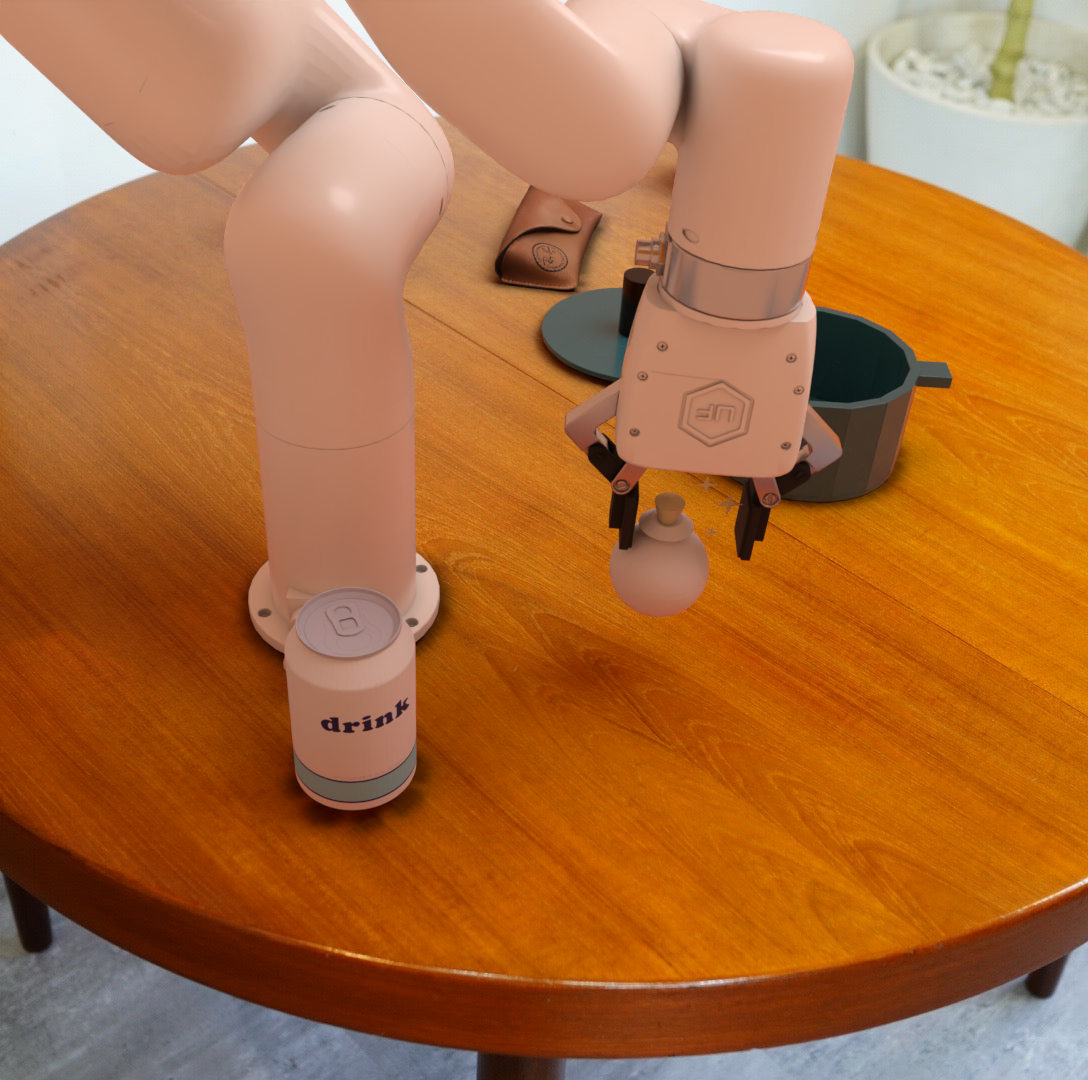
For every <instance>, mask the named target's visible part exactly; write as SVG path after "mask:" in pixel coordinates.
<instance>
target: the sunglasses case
mask: <svg viewBox="0 0 1088 1080" xmlns="http://www.w3.org/2000/svg"><path fill="white" fill-rule="evenodd" d="M603 215H604V214H603V213H602V212H601V211H600V212H599V211H598V210H596V209H594V208H592V207H590V206H588V205H586V204H583V202H581V201H571V200H567V199H563V198H560V197H556V196H553V195H550V194H548V193H546V192H544V191H542V190H540V189H538V188H536V187H534V186H532V185H530V184H529V187H528V188H527V191H526V192H525V194H524V196H523V198H522V199H521V201H520V202H519V205H518V206H517V209H516V211H515V213H514V216H513V218H512V220H511V222H510V224H509V226H508V228H507V230H506V233H505V235H504V237H503V239H502V240H501V243H500V244H501V245H500V247H499V249H498V253H497V256H496V258H495V261H494V273H495V274H496V276H497V277H498V279H499V280H500V282H502V283H504V284H507V285H515V286H518V287H524V288H531V289H538V290H539V289H540V290H555V291H568V290H570V291H571V290H575V289H577V288H578V287H579V286H578V285H579V282H580V273H581V268H582V263H583V259H584V256H585V253H586V250H587V247H588V245H589V243H590V240H591V237H592V236H593V233H594V231H595V229H596V227H598V224H599V223H600V221H601V219H602V218H603Z"/></svg>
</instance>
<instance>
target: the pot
mask: <svg viewBox="0 0 1088 1080" xmlns="http://www.w3.org/2000/svg"><path fill="white" fill-rule="evenodd" d="M814 306H815V308H816V343H815V355H814V364H813V373H812V379H811V387H810V394H809V400H808V404H809V405H810V406H811V407H812V408H813V409H814V410H815V411H816V413H817V414H818V415H819V416H820V417H821V418H822V419H823V420H824V421H825V423H826V424H827V425H828V426H829V427H830V428H831V429H832V430H833V431H834V432H835V434H836V435H837V436H838V437H839V439H840V443H841V447H842V455H841V457H840V458H839V459H837V460H836V461H834V462H832V463H831V464H829V465H828V466H826V467H825V468H823V469H821V470H820V471H818V472H814V473H813V474H811V477H810V479H809V480H808V481H806V482H805V483H803V484H802V485H800V486H798V487H797V488H795V489H793V490H792V491H790V492H788V493H787V494H785V495H783V496H782V497H781V499H787V500H792V501H798V502H808V503H811V502H813V503H828V502H829V503H830V502H840V501H847V500H851V499H855V498H859V497H862V496H864V495H867V494H869V493H871V492H873V491H875V490H876V489H878V488H880V487H881V486H882V485H884V484H885V482H886V481H887V480H888V479H889V478H890V476H891V475H892V473H893V471H894V468H895V465H896V462H897V460H898V458H899V454H900V450H901V447H902V443H903V440H904V436H905V431H906V427H907V424H908V422H909V421H908V420H909V416H910V413H911V410H912V406H913V401H914V398H915V394H916V391H917V388H933V389H946V390H947V389H951V386H952V383H953V379H954V378H953V375H952V372H951V371H950V368H949V365H948V363H947V362H945V361H929V360H918V359H917V357H916V354H915V351H914V349H913V348H912V347H911V346H910V345H908V344H907V343H906V342H905V341H904V340H903V339H902V338H900V336H898V335H897V334H896V333H895V332H894V331H893V330H891V329H888V328H886V327H885V326H882V325H880V324H878V323H877V322H874V321H872V320H870V319H868V318H866V317H863V316H861V315H858V314H854V313H850V312H846V311H842V310H837V309H833V308H829V307H825V306H819V305H818V306H817V305H814ZM807 444H808V443H807V442H806V441H805V439H804V438H803V437H802V440H801V445H800V449H799V450H801V449H803V448H802V447H804V446H805V445H807ZM784 445H785V444H784ZM784 447H785V446H784ZM729 477H730V478H731V479H732V480H735V481H736V482H738V483H740V484H742V485H744V482H745V481H748V477H736V476H729Z"/></svg>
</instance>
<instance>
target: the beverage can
mask: <svg viewBox="0 0 1088 1080" xmlns="http://www.w3.org/2000/svg"><path fill="white" fill-rule="evenodd" d="M284 653H285V654H284ZM284 653H283V654H284V658H285V664H286V670H285V674H286V685H287V695H288V706H289V707H288V708H289V717H290V728H291V738H292V740H291V741H292V747H293V751H292V752H293V760H294V772H295V776H296V780H297V782H298V785H299V786H300V788H301V789H302V790H303V792H304V793H305V794H306V795H308V797H310V798H311V799H313V801H315V802H317V803H319V804H322V805H323V806H326V807H328V808H332V809H336V810H342V811H363V810H368V809H373V808H377V807H379V806H382V805H384V804H386V803H389V802H390V801H392V800H394V799H395V798H396V797H398V796H400V795H401V794H402V793H403V792H404V791H405V790H406V789H407V788H408V786H409V785H410V783H411V782H412V780H413V778H414V776H415V773H416V770H417V679H416V677H417V674H416V673H417V672H416V669H417V668H416V667H417V666H416V665H417V664H416V662H417V661H416V660H417V659H416V642H415V639H414V635H413V633H412V630H411V628H410V627H409V625H408V624H407V623H406V622H405V620H404V619H403V618H402V616H401V612H400V610H399V608H398V606H397V605H396V604H395V603H394V602H393V601H392V600H391V599H390V598H389V597H387V596H386V595H384V594H382V593H380V592H377V591H374V590H371V589H367V588H360V587H343V588H336V589H332V590H328V591H325V592H323V593H320V594H318V595H316V596H315V597H313V598H311V599H310V600H309V601H307V602H306V603H305V604H304V605H303V606H302V608H301V609H300V611H299V612H298V614H297V617H296V623H295V625H294V626H293V628H292V629H291V630H290V632H289V634H288V636H287V639H286V642H285V648H284Z"/></svg>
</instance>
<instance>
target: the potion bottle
mask: <svg viewBox="0 0 1088 1080" xmlns="http://www.w3.org/2000/svg"><path fill="white" fill-rule="evenodd" d="M695 486H700V487H704V494H706V493H707V491H708V488H709V487H715V486H718V484H716V483H713V482H712V483H711V482H710V478H709V475H708V476H707V477H706V480H705V481H704V482H701V483H695ZM654 505H655V507H653V508H652V507H651V508H649V509H646V510H645V511H643V512H642V513H641V515H640V516H639V518H638V522H635V529H634V535H633V541H632V547H631V548H628V550H620V549H619V538H618V539H617V540H616V542H615V544H614V546H613V548H612V551H611V554H610V558H609V576H610V581H611V585H612V587H613V589H614V591H615V593H616V595H617V596H618V597H619V598H620V600H621V601H622V602H623V604H625V605H626V606H627V607H629V608H630V609H631V610H633V611H635V612H637V613H639V614H641V615H645V616H648V617H654V618H664V617H665V618H666V617H671V616H675V615H678V614H681V613H682V612H684V611H686V610H688V608H690V607H691V606H693V605H694V604H695V603H696V602H697V601H698V599H699V598H700V597H701V595H702V593H703V592H704V590H705V588H706V585H707V582H708V579H709V575H710V560H709V556H708V551H707V550H706V548H705V547H706V546H705V545H704V543H703V541H702V540H701V539H700V537H699V535H698V534H697V533H695V531H694V530H695V525H694V522H693V520H692V519H691V518H690V516H688V515H687V514H686V513H685V512H683V510H684V508H685V507H686V500H685V499H684V497H682V496H681V495H679V494H677V493H674V492H661V493H659V494H657V495H656V496H655V498H654ZM714 505H717V506H723V507H725V512H726V513H725V514H726V516H728V514H729V512H730V510H731V508H732V507H739V505H743V504H740V502H735V501H733V494H732V491H731V492H730V494H729V496H728V498H727V501H722V502H715V503H714ZM704 533H705V534H709V535H710V538H712V537H713V535H714V534H719V533H720V532H719V531H714V526H712V528H711V530H709V531H704Z"/></svg>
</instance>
